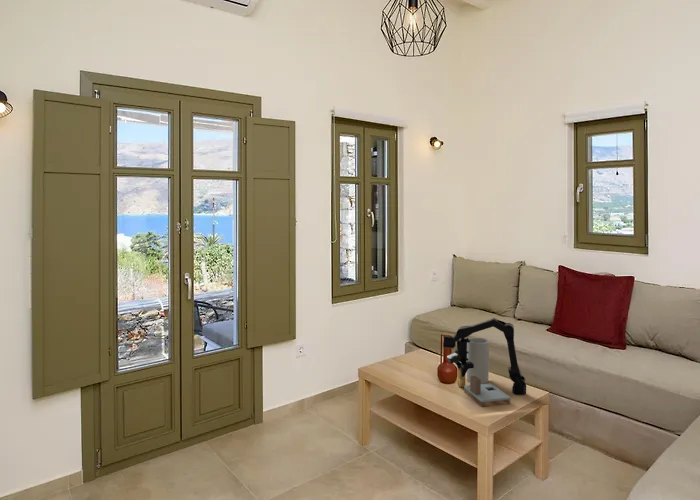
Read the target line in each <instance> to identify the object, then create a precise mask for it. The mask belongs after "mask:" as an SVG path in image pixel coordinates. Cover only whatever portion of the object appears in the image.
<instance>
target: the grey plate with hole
mask: <svg viewBox="0 0 700 500" xmlns="http://www.w3.org/2000/svg"><path fill="white" fill-rule="evenodd" d="M463 388H465V389H466V390H467V391H469V392H470V393H471V394H472V395H473V396H475V397H476V398H477V399H478V400H479V401H481V402H488V401H498V400H508V399H510V400H511V397H510V396H509V395H508V394H506V392H504V391H502V390H501V389H499V388H498V387H497V386H495V385H494V384H493V383H491V382H490V383H483V384H481V380H480V379H479V378H478V377H476V376H470V383H469V385H465V386H464V387H463ZM487 389H493V390H491V391H488V390H487Z"/></svg>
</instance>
